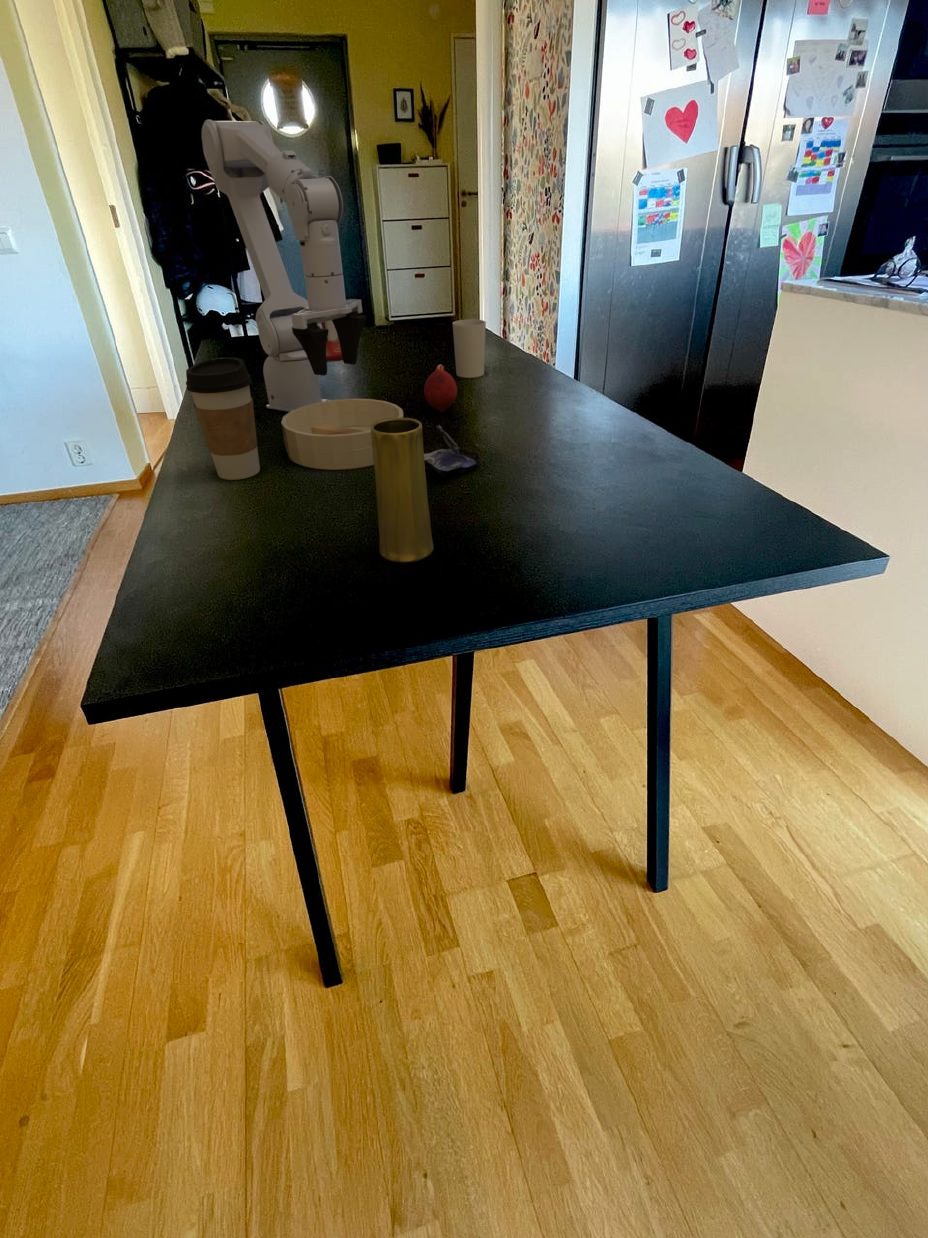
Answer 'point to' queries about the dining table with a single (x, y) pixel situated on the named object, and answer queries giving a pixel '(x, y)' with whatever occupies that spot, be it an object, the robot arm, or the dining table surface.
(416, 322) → the dining table surface
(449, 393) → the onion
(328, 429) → the tan wooden bar
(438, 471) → the dark piece
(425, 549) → the vase
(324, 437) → the bowl
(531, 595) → the dining table surface
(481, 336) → the white paper cup
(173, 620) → the dining table surface
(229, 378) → the coffee cup
